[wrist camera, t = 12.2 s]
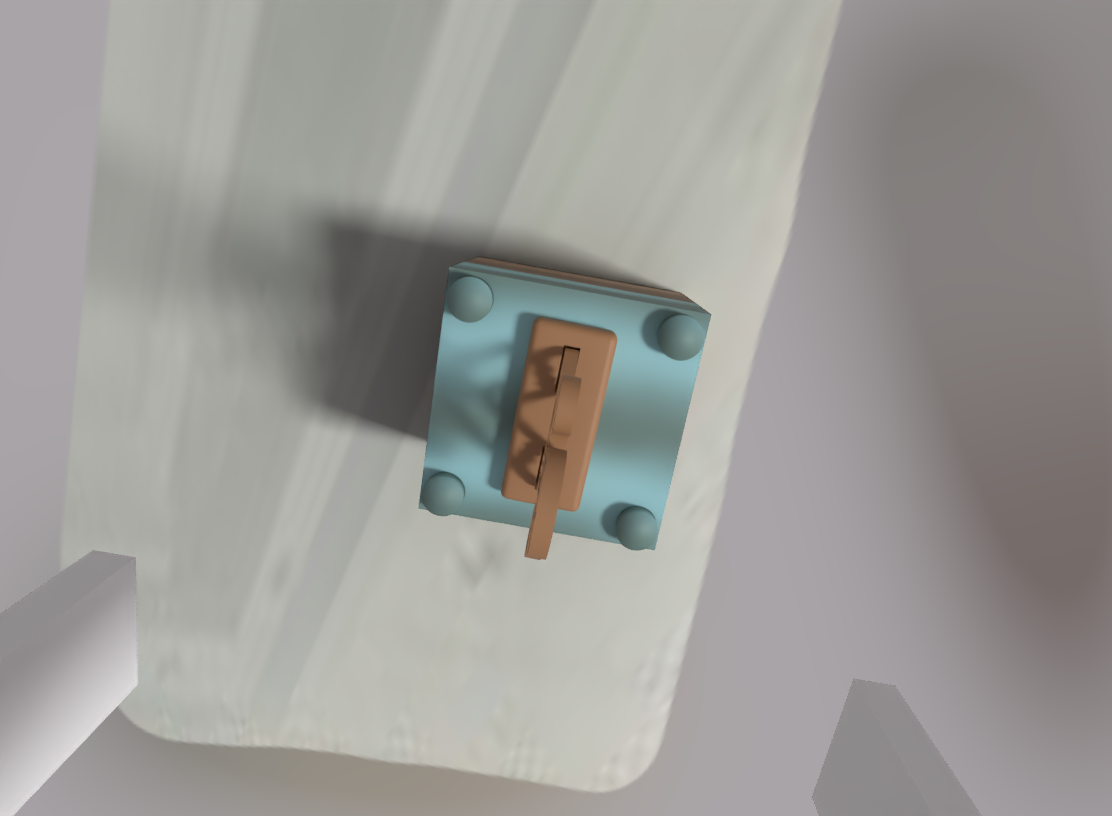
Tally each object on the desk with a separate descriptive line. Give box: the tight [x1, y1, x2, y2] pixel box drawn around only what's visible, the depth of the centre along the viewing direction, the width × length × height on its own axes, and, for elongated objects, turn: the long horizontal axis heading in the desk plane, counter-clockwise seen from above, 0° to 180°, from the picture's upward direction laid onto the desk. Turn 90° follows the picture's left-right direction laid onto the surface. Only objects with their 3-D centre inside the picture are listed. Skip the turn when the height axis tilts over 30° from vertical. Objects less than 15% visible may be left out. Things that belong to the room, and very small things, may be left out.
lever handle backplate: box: [501, 316, 617, 560], centre depth 26 cm, size 9×4×12 cm, turn 169°
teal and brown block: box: [419, 257, 711, 550], centre depth 35 cm, size 12×12×10 cm
